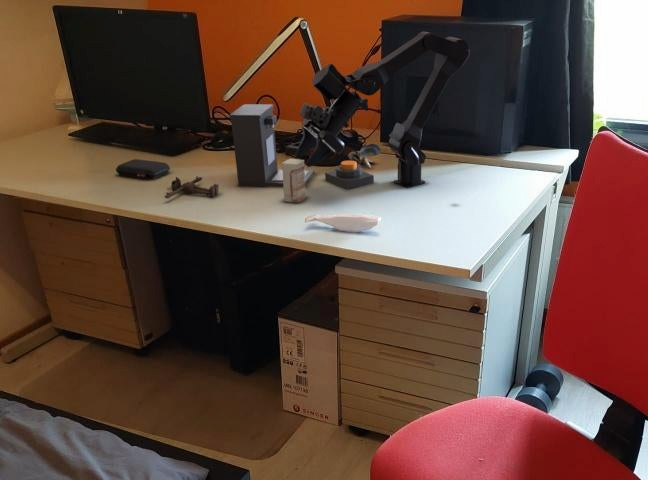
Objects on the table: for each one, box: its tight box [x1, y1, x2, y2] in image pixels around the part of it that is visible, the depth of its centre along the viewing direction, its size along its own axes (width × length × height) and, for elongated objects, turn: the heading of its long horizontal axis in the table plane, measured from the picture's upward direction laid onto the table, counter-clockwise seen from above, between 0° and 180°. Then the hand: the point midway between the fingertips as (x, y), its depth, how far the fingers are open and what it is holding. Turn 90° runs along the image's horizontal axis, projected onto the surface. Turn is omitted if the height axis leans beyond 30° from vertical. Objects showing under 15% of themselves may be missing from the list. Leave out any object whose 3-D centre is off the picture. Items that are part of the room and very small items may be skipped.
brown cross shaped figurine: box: [164, 175, 220, 199], centre depth 195 cm, size 18×4×14 cm
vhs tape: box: [284, 141, 310, 158], centre depth 227 cm, size 14×8×2 cm, turn 56°
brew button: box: [340, 160, 357, 170], centre depth 199 cm, size 4×4×2 cm
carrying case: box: [115, 158, 171, 180], centre depth 212 cm, size 11×3×15 cm
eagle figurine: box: [347, 143, 382, 169], centre depth 212 cm, size 8×7×9 cm
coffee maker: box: [228, 103, 315, 188], centre depth 199 cm, size 19×14×19 cm
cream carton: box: [281, 158, 307, 204], centre depth 187 cm, size 5×4×10 cm
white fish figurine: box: [304, 212, 382, 233], centre depth 169 cm, size 6×18×4 cm, turn 71°
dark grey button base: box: [324, 164, 375, 190], centre depth 200 cm, size 11×9×4 cm
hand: (301, 161), depth 185 cm, fingers open, 9 cm apart
